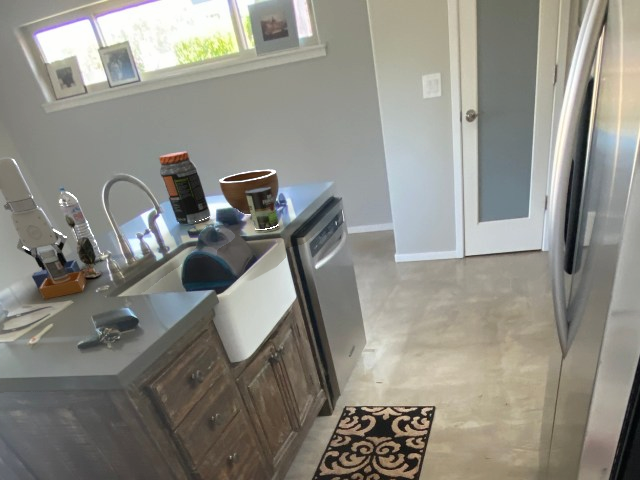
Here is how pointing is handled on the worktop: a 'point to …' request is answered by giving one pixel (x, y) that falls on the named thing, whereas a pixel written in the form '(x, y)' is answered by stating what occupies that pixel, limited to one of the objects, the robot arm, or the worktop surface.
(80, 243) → the plant with pod
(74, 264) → the blue bin
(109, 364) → the worktop surface
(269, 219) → the coffee can
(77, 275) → the amber bin
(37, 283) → the blue block
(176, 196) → the supplement tub
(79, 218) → the water bottle
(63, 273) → the pill bottle
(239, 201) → the bowl
